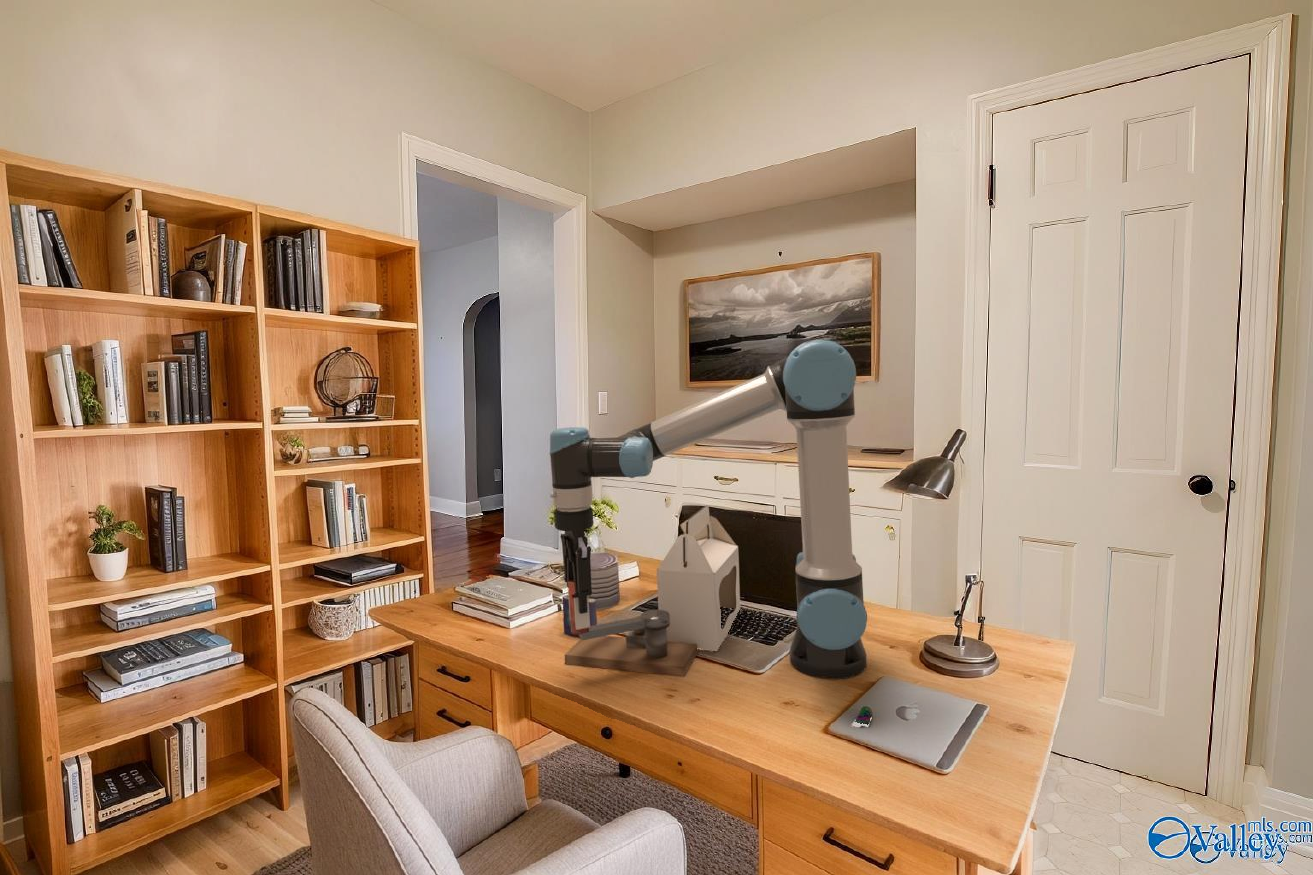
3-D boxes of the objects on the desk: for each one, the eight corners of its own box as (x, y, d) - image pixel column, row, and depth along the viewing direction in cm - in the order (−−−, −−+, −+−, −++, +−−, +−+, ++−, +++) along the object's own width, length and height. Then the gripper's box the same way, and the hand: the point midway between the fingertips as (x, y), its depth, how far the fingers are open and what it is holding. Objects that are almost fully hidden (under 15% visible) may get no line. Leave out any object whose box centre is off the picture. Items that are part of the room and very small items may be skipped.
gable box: (689, 610, 166) (685, 501, 163) (740, 615, 161) (737, 503, 158) (659, 646, 145) (653, 522, 142) (717, 652, 140) (712, 525, 137)
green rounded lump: (855, 716, 114) (855, 703, 113) (872, 720, 112) (872, 707, 112) (849, 728, 110) (849, 715, 110) (867, 732, 109) (866, 719, 108)
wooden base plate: (697, 652, 140) (696, 616, 140) (684, 676, 130) (682, 637, 129) (586, 642, 148) (584, 607, 148) (565, 663, 138) (562, 626, 137)
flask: (600, 636, 152) (597, 591, 150) (593, 641, 149) (590, 595, 148) (568, 630, 156) (565, 586, 155) (560, 634, 154) (557, 590, 152)
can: (629, 600, 175) (627, 556, 173) (599, 613, 166) (597, 567, 165) (598, 592, 182) (596, 550, 180) (568, 604, 173) (566, 560, 172)
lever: (663, 616, 139) (660, 562, 138) (674, 626, 134) (672, 570, 133) (568, 635, 132) (564, 578, 131) (575, 646, 126) (572, 587, 125)
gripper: (544, 502, 133) (551, 613, 136) (565, 518, 118) (572, 643, 120) (580, 498, 136) (586, 606, 138) (604, 513, 121) (611, 635, 123)
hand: (579, 623), depth 129 cm, fingers closed on lever, 4 cm apart
